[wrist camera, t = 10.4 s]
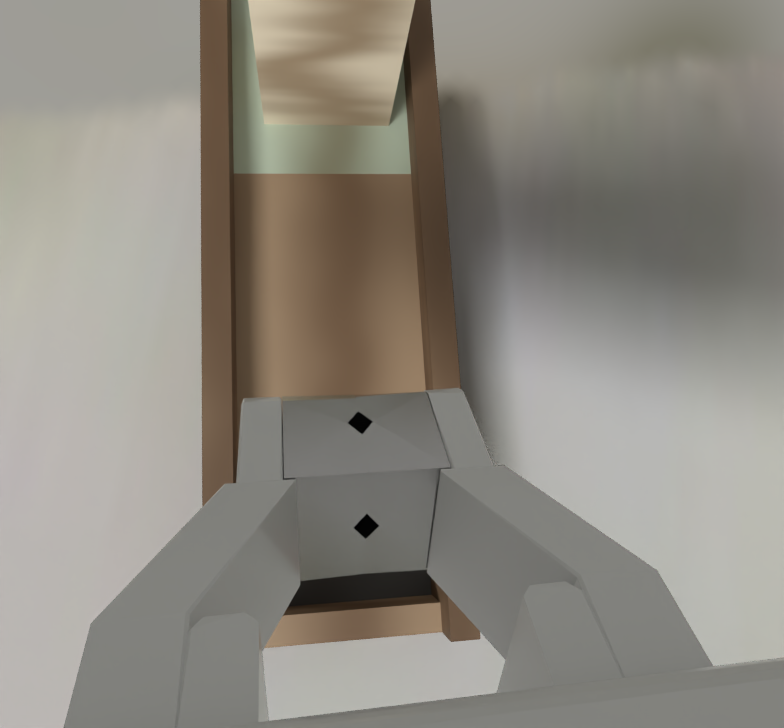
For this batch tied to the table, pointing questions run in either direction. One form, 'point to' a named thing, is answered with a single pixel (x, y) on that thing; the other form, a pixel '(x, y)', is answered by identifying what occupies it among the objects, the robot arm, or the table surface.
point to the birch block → (329, 59)
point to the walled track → (323, 287)
